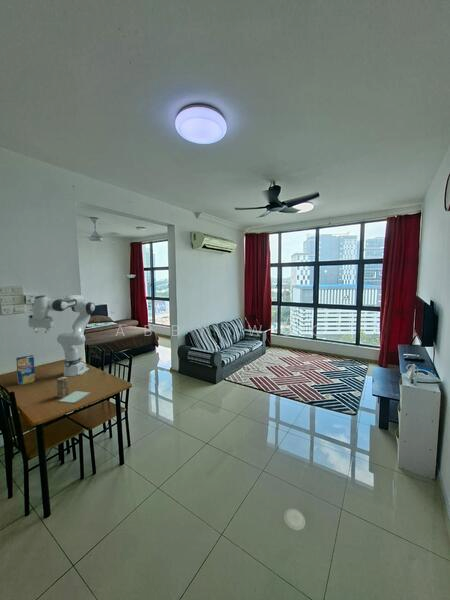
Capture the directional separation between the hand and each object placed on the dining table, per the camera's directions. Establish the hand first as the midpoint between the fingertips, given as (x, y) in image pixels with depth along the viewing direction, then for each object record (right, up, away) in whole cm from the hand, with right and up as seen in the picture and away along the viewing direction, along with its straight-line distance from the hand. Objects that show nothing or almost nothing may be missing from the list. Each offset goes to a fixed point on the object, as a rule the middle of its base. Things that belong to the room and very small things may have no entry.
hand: (41, 332), depth 194 cm
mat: (+34, -48, -10) cm, 59 cm away
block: (+23, -47, -9) cm, 53 cm away
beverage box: (-25, -45, +15) cm, 53 cm away
